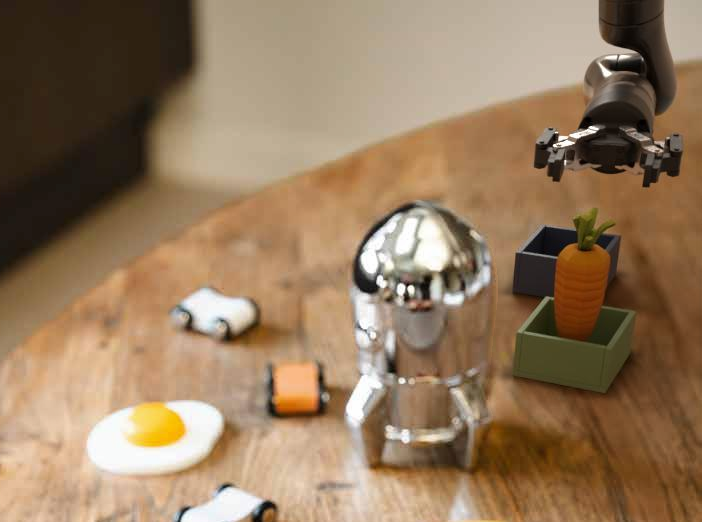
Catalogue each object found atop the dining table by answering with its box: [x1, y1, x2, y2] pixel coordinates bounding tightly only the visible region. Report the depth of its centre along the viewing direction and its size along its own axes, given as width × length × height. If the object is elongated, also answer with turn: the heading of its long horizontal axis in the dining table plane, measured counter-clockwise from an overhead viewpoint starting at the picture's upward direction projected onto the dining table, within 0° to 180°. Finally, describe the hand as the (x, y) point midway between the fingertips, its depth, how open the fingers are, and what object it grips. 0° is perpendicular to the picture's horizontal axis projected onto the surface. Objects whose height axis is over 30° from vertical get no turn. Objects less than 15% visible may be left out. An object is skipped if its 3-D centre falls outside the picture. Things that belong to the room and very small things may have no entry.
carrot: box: [554, 207, 616, 342], centre depth 115 cm, size 5×5×15 cm
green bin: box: [512, 296, 637, 394], centre depth 118 cm, size 9×9×5 cm
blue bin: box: [511, 223, 622, 298], centre depth 134 cm, size 9×9×5 cm
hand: (601, 174), depth 116 cm, fingers open, 8 cm apart
